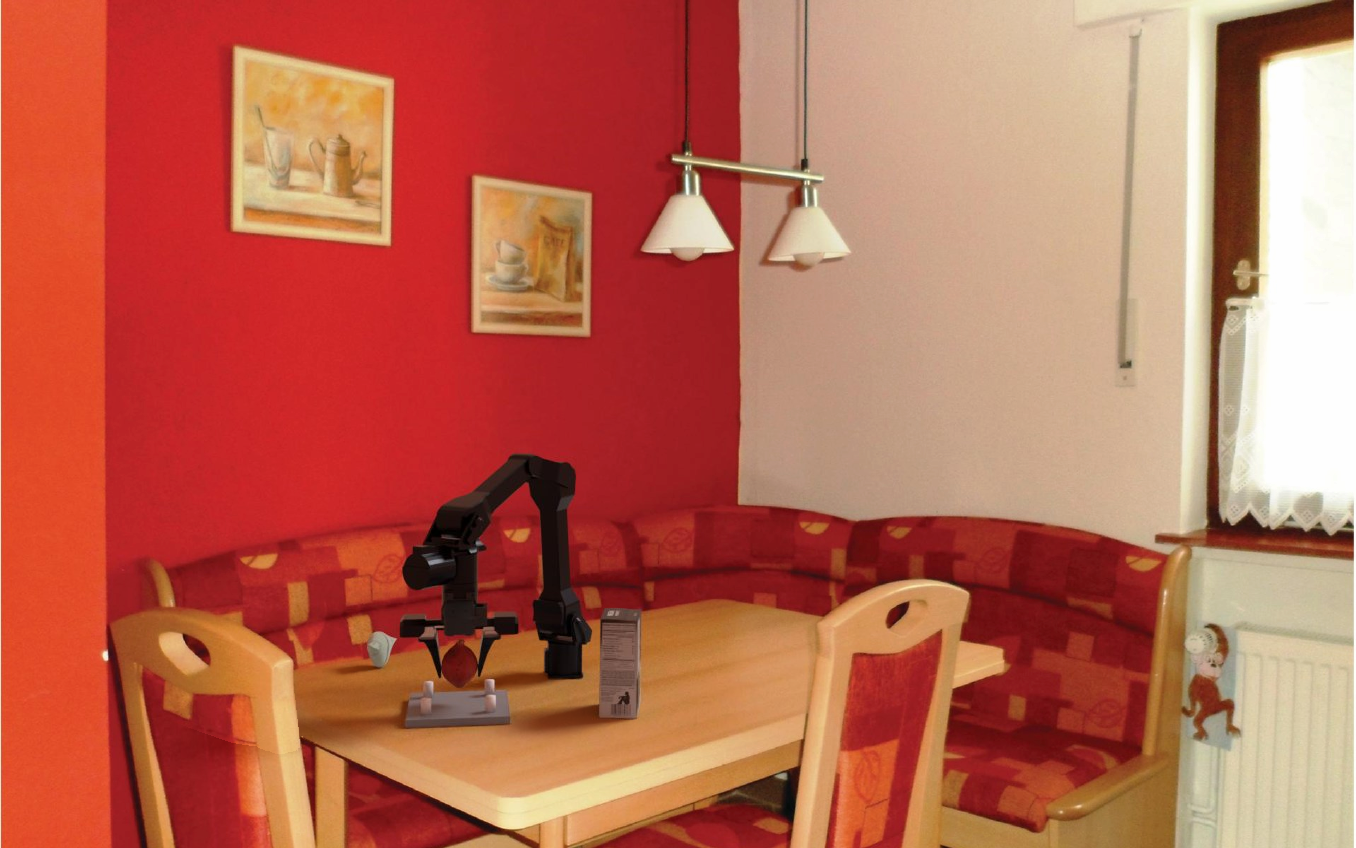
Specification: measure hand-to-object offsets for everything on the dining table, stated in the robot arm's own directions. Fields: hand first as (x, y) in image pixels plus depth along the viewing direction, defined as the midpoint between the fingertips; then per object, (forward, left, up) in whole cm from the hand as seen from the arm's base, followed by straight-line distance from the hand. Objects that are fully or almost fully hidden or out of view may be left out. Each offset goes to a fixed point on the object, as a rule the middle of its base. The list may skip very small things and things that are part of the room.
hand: (459, 677), depth 182 cm
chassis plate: (0, 0, -6) cm, 6 cm away
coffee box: (-26, +3, -6) cm, 27 cm away
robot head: (+15, -32, -6) cm, 36 cm away
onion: (0, 0, -2) cm, 2 cm away
